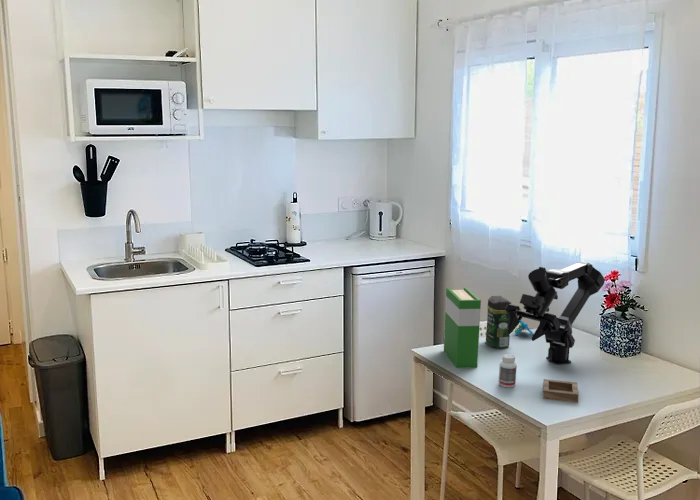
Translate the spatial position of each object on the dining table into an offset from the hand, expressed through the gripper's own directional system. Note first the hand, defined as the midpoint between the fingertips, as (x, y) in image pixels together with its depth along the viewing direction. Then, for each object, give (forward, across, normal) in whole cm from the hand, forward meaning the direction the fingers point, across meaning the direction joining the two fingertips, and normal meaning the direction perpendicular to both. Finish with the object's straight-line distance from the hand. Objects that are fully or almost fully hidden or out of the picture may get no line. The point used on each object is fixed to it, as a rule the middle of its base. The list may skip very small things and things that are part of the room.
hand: (520, 336), depth 238 cm
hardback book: (+10, -24, +11) cm, 28 cm away
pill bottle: (+16, +1, +6) cm, 17 cm away
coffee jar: (-8, -25, +26) cm, 37 cm away
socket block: (+11, +17, +10) cm, 23 cm away
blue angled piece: (-22, -26, +38) cm, 51 cm away
